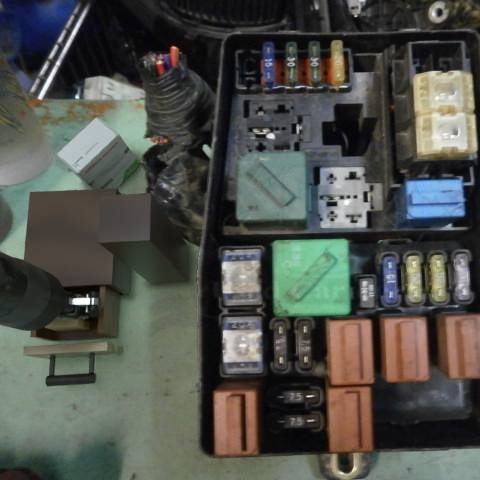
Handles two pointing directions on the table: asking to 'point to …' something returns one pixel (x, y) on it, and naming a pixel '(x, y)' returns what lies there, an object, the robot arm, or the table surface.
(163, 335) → the table surface
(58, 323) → the block
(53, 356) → the drawer
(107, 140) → the ink box
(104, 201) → the post
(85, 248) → the cabinet
